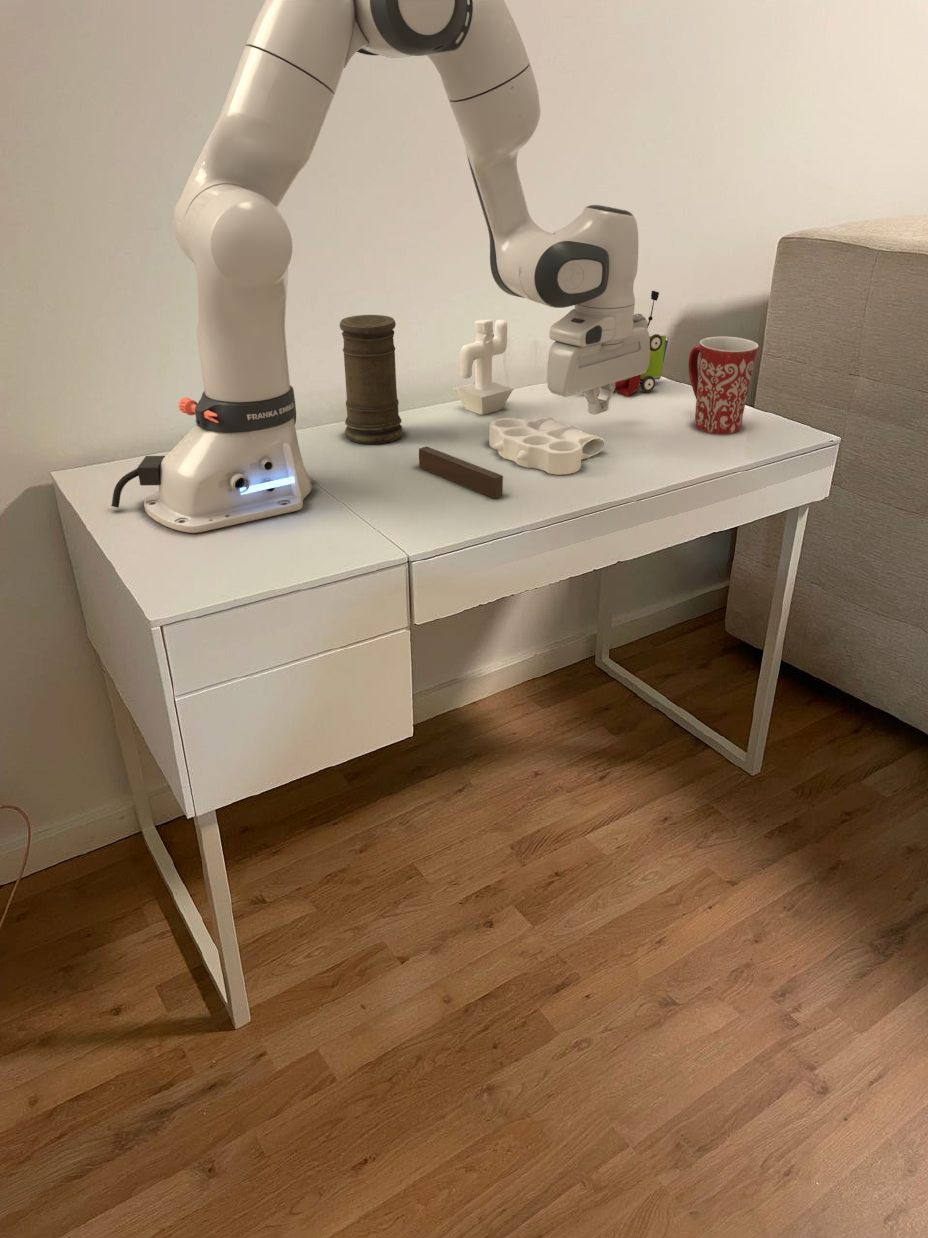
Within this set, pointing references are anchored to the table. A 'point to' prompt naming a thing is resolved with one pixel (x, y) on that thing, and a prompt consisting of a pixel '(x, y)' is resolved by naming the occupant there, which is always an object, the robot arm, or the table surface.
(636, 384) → the robot toy
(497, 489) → the bar
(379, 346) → the container
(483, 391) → the figurine
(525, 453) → the cream flat holed block
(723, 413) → the mug
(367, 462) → the table surface
